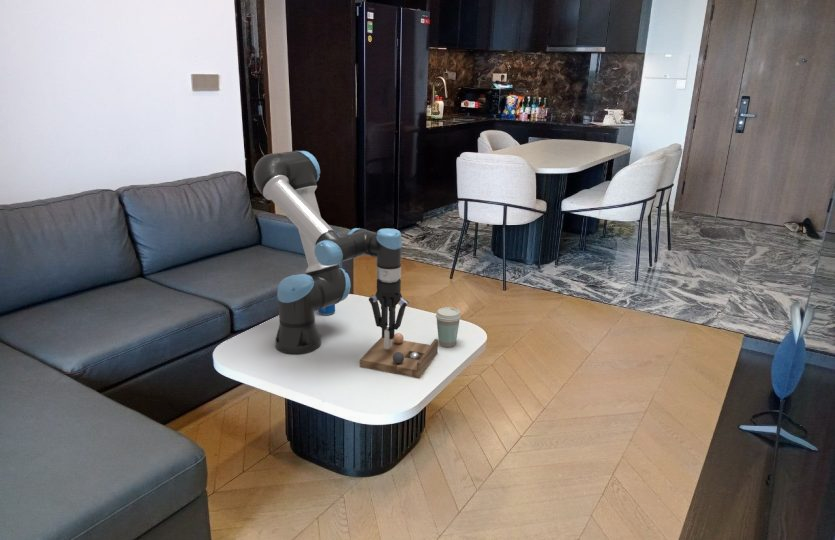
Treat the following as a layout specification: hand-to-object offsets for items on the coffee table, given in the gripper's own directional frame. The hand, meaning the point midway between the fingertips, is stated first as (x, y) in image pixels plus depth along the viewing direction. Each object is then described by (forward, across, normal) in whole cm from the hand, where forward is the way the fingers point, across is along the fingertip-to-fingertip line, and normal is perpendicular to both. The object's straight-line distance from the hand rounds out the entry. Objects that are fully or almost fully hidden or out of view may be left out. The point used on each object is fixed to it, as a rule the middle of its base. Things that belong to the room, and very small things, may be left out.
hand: (388, 346), depth 189 cm
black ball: (-1, +6, -7) cm, 9 cm away
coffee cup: (+4, +15, +17) cm, 23 cm away
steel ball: (+2, +9, 0) cm, 9 cm away
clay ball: (0, +1, +6) cm, 6 cm away
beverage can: (+5, -36, +26) cm, 44 cm away
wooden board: (+4, +4, 0) cm, 6 cm away
